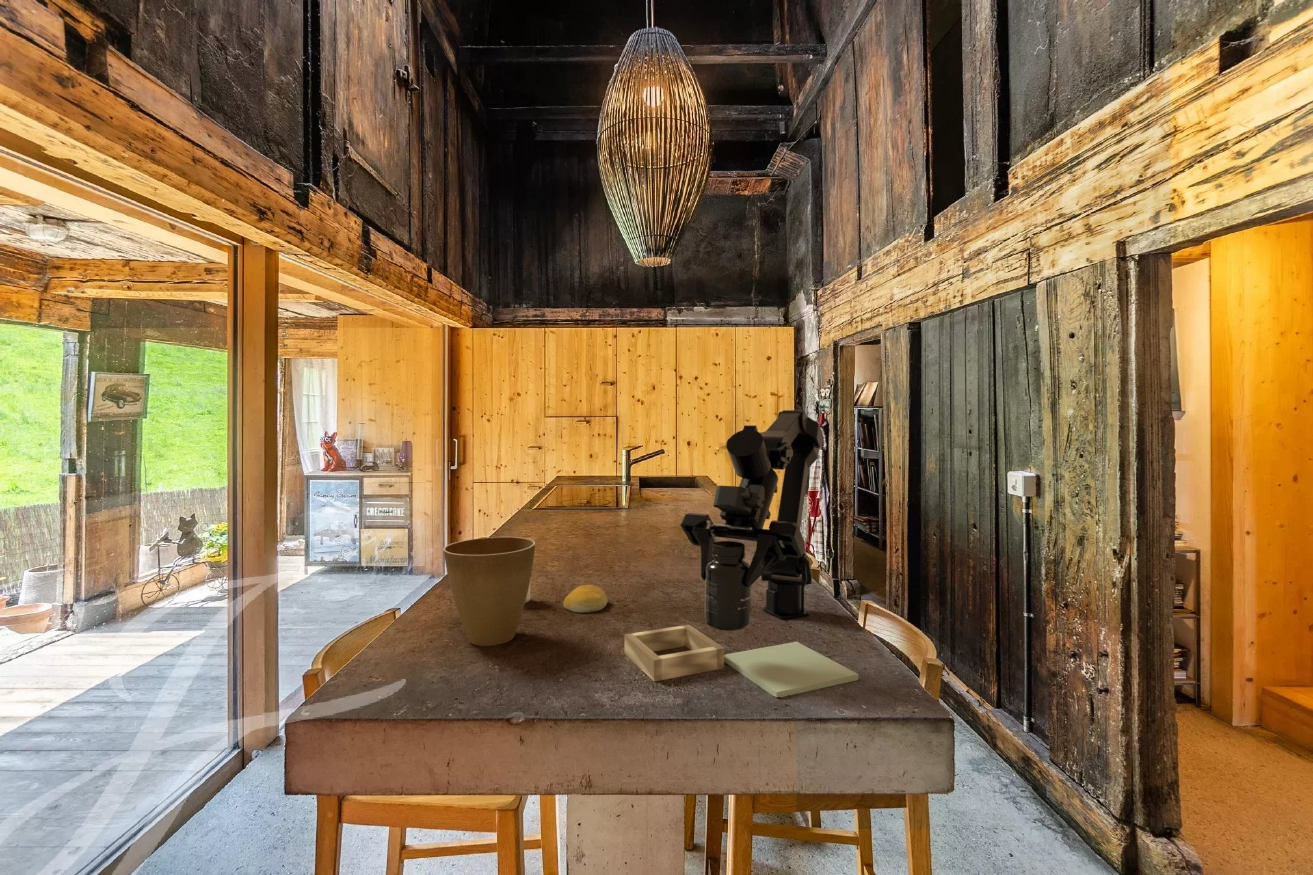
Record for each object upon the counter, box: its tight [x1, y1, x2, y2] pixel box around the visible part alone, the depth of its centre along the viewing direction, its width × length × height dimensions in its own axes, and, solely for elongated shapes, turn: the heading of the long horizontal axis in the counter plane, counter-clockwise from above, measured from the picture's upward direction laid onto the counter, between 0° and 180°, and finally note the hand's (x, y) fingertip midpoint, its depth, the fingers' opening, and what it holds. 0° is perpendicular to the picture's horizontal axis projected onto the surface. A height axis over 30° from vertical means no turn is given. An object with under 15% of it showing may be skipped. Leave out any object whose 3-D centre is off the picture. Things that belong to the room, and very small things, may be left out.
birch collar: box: [624, 624, 725, 682], centre depth 91 cm, size 11×11×3 cm
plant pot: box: [442, 536, 536, 647], centre depth 100 cm, size 15×15×16 cm
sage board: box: [724, 641, 859, 698], centre depth 88 cm, size 14×14×1 cm
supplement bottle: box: [704, 540, 752, 632], centre depth 88 cm, size 7×7×12 cm
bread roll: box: [563, 584, 609, 614], centre depth 119 cm, size 8×9×4 cm
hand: (724, 582), depth 87 cm, fingers closed on supplement bottle, 7 cm apart
